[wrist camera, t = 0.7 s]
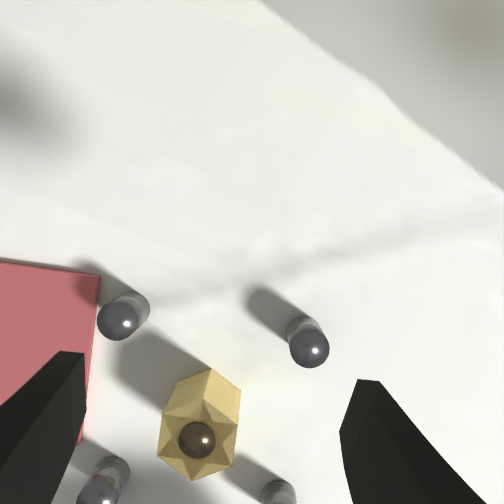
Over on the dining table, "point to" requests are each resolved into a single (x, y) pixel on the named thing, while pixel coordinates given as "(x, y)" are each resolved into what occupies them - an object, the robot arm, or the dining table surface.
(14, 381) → the red mat
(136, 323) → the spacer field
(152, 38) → the dining table surface
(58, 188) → the dining table surface
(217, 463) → the brass nut
